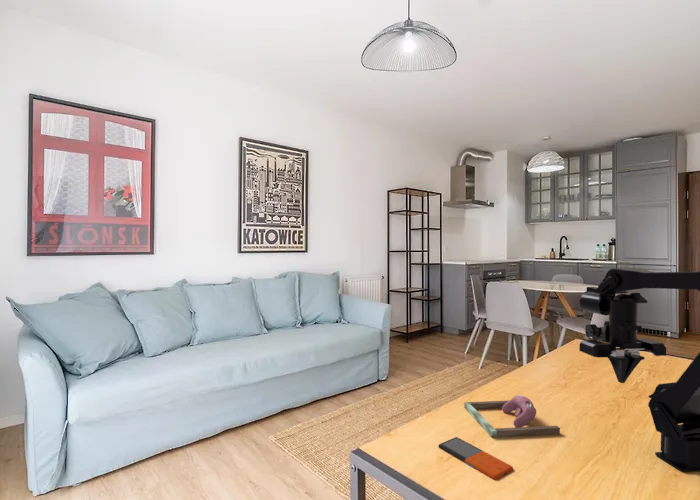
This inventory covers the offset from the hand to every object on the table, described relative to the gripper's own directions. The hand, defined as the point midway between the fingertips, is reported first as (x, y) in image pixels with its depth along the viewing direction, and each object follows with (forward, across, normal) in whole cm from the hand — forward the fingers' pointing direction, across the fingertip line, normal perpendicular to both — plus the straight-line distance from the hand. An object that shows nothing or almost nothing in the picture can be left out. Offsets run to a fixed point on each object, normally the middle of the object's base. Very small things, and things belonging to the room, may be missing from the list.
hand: (621, 382), depth 96 cm
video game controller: (+12, +22, -8) cm, 26 cm away
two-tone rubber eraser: (+13, +41, +8) cm, 44 cm away
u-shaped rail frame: (+12, +24, -8) cm, 28 cm away
